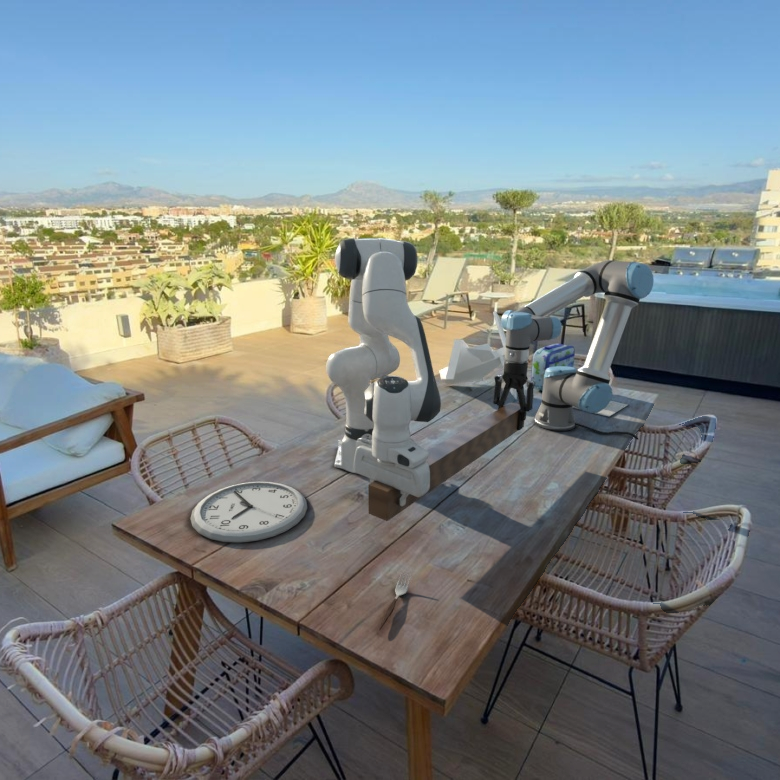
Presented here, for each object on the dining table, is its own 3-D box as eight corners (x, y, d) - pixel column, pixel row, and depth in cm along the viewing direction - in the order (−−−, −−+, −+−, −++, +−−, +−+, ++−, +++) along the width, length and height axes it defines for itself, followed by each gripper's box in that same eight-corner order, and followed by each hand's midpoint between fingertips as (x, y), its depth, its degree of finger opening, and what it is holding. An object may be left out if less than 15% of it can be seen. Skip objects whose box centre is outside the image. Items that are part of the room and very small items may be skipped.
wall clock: (302, 534, 126) (174, 538, 123) (303, 540, 126) (175, 544, 124) (310, 477, 154) (206, 479, 152) (310, 482, 155) (206, 484, 152)
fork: (373, 630, 99) (373, 621, 98) (400, 579, 113) (400, 571, 112) (386, 633, 98) (386, 625, 97) (412, 582, 112) (412, 574, 112)
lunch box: (547, 395, 239) (552, 351, 233) (526, 390, 247) (530, 347, 240) (574, 384, 257) (579, 343, 251) (554, 380, 264) (558, 339, 258)
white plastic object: (461, 429, 252) (437, 405, 227) (444, 352, 274) (420, 323, 250) (535, 404, 240) (518, 377, 215) (510, 326, 262) (492, 293, 237)
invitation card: (608, 416, 214) (573, 407, 224) (608, 416, 214) (573, 408, 224) (628, 404, 229) (594, 396, 238) (628, 405, 229) (594, 397, 238)
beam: (508, 422, 182) (510, 402, 180) (523, 426, 179) (525, 405, 177) (368, 513, 124) (368, 484, 122) (387, 521, 121) (387, 491, 118)
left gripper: (348, 439, 124) (347, 490, 128) (419, 464, 112) (416, 520, 117) (365, 431, 129) (364, 481, 133) (435, 454, 117) (432, 508, 122)
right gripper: (485, 358, 172) (480, 424, 179) (539, 367, 162) (532, 437, 169) (495, 354, 178) (490, 417, 185) (548, 362, 168) (541, 430, 175)
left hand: (389, 499), depth 125 cm, fingers closed on beam, 5 cm apart
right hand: (510, 426), depth 177 cm, fingers closed on beam, 6 cm apart
